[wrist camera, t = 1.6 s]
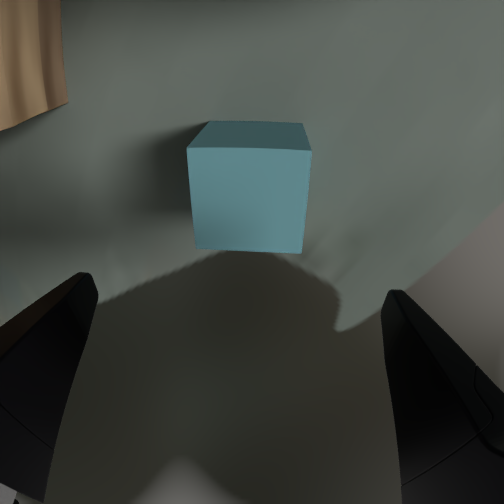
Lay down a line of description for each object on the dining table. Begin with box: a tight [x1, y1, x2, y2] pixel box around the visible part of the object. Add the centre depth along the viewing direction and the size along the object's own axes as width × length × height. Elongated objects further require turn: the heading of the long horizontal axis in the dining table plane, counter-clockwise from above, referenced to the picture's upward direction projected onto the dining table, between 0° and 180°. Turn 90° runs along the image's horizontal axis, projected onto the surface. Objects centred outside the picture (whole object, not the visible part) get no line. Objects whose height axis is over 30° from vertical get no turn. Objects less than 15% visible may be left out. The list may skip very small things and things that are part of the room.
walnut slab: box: [38, 0, 68, 113], centre depth 12 cm, size 9×9×3 cm
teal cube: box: [187, 121, 312, 253], centre depth 16 cm, size 5×5×5 cm
